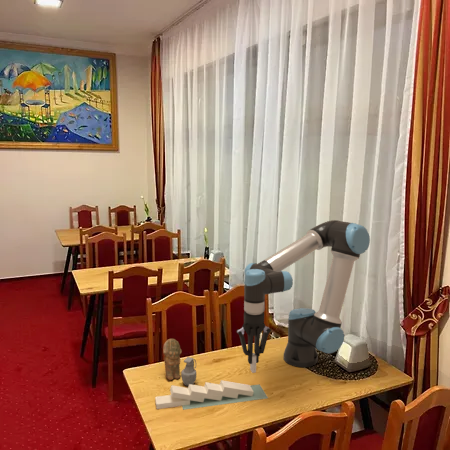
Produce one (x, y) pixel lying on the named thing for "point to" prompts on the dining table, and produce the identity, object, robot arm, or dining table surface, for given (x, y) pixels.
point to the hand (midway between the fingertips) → (253, 370)
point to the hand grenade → (189, 372)
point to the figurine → (172, 358)
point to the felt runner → (229, 399)
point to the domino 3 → (201, 392)
